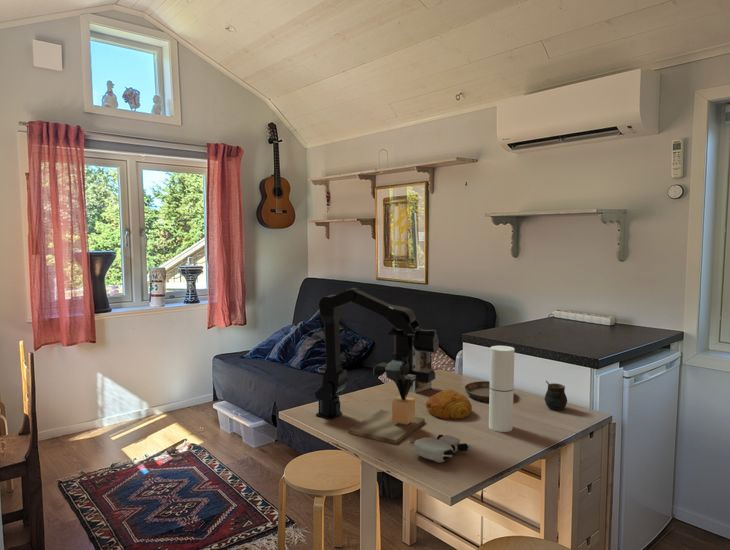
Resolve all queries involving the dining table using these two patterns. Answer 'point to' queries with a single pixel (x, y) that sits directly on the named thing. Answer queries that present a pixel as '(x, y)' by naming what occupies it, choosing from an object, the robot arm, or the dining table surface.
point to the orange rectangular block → (403, 410)
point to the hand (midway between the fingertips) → (403, 399)
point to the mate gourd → (556, 396)
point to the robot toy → (439, 447)
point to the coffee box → (420, 362)
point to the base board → (385, 427)
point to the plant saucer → (479, 390)
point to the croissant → (449, 405)
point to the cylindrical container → (501, 388)
